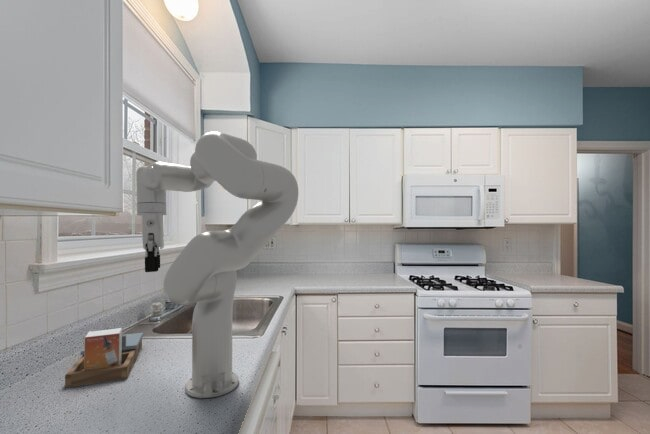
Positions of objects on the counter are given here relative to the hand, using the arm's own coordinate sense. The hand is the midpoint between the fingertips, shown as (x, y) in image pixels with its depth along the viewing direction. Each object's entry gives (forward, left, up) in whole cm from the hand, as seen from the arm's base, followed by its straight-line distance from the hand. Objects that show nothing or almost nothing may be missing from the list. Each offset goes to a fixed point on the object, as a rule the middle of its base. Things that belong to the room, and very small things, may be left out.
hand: (153, 269), depth 96 cm
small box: (-1, +12, -27) cm, 29 cm away
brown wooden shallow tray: (+5, +12, -27) cm, 30 cm away
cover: (+12, +12, -24) cm, 29 cm away
